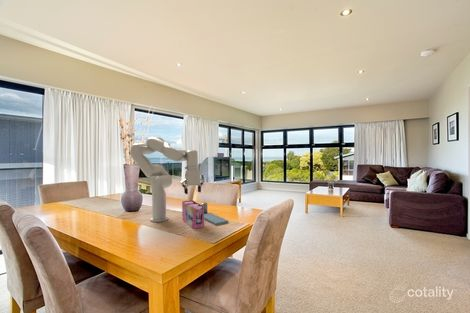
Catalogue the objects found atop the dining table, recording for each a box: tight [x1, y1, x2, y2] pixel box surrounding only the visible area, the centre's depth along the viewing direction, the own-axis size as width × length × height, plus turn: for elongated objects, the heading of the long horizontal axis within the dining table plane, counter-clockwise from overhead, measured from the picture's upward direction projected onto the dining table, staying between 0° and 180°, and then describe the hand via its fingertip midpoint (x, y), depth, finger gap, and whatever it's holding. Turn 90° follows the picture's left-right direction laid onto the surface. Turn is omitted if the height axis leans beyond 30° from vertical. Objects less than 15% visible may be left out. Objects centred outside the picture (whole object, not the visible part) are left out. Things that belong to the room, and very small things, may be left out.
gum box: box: [181, 199, 205, 229], centre depth 157 cm, size 24×8×14 cm, turn 31°
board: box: [204, 212, 229, 226], centre depth 165 cm, size 24×10×2 cm, turn 36°
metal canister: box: [200, 202, 208, 214], centre depth 182 cm, size 5×5×8 cm
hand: (192, 193), depth 157 cm, fingers open, 9 cm apart
